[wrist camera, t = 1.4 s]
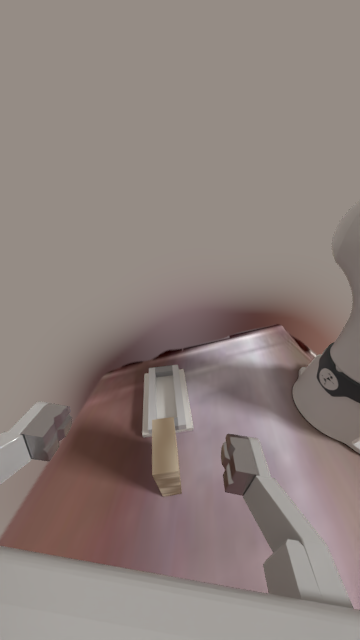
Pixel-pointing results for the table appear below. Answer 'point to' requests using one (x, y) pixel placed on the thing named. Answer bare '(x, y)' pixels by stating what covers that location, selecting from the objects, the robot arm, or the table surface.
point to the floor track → (166, 398)
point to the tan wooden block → (165, 457)
